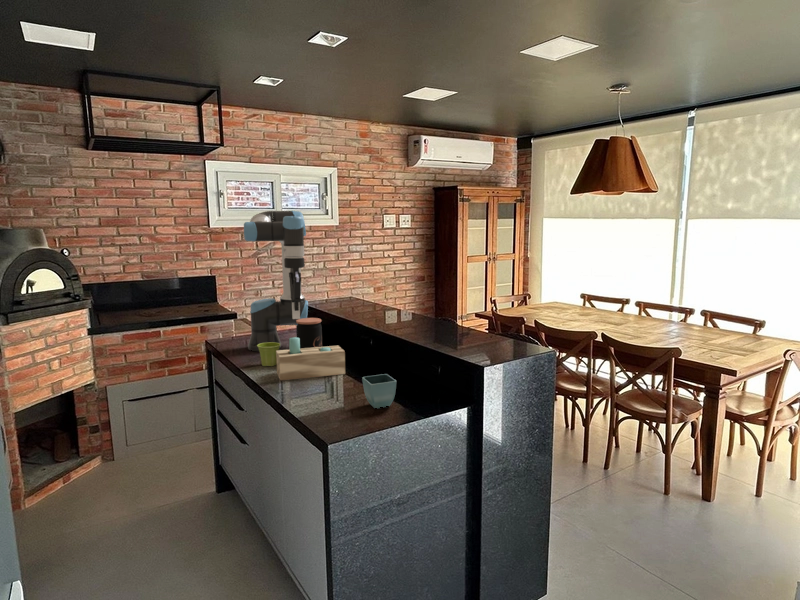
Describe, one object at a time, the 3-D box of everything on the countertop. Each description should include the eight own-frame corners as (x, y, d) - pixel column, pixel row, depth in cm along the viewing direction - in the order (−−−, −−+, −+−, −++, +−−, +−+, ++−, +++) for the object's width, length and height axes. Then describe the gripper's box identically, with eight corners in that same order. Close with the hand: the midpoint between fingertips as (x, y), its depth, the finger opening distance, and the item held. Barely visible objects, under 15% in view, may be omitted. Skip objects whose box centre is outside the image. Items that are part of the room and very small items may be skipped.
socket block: (277, 372, 203) (276, 350, 201) (338, 366, 211) (338, 345, 210) (280, 380, 192) (279, 357, 191) (345, 373, 201) (344, 351, 200)
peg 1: (289, 357, 200) (288, 337, 199) (299, 356, 201) (298, 337, 200) (290, 360, 196) (289, 339, 195) (301, 359, 198) (300, 339, 197)
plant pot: (272, 360, 221) (271, 341, 220) (285, 364, 215) (284, 344, 214) (253, 365, 214) (252, 345, 213) (267, 369, 208) (266, 348, 207)
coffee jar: (317, 364, 214) (316, 322, 212) (293, 363, 216) (292, 321, 214) (326, 358, 225) (325, 318, 222) (303, 357, 227) (301, 317, 224)
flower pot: (371, 412, 159) (371, 384, 158) (361, 403, 167) (361, 376, 166) (397, 408, 162) (397, 380, 161) (386, 399, 170) (386, 373, 169)
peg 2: (319, 367, 205) (319, 347, 204) (329, 366, 206) (329, 346, 205) (321, 369, 201) (321, 349, 200) (331, 368, 202) (331, 349, 201)
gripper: (281, 256, 198) (283, 316, 202) (286, 258, 186) (289, 322, 190) (301, 256, 201) (302, 315, 204) (307, 258, 189) (309, 320, 192)
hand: (296, 318), depth 197 cm, fingers closed
